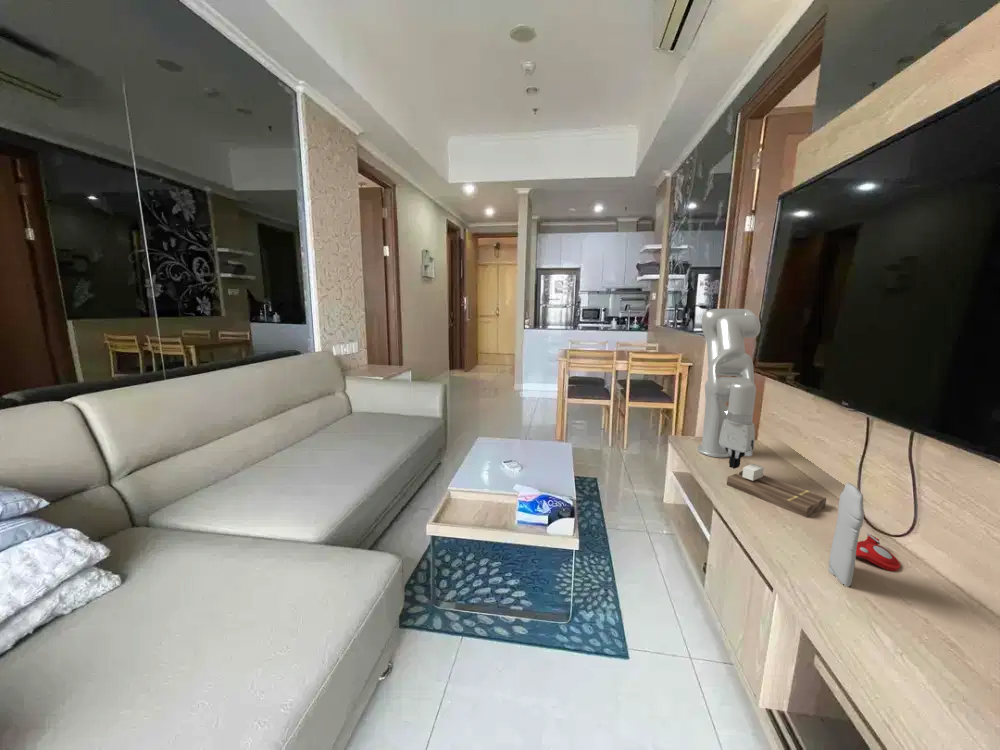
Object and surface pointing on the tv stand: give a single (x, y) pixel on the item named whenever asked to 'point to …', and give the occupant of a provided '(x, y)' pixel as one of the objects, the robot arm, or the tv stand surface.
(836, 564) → the tall pale column
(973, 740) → the tv stand surface
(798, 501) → the fader console
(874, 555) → the tracker holder
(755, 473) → the fader knob
